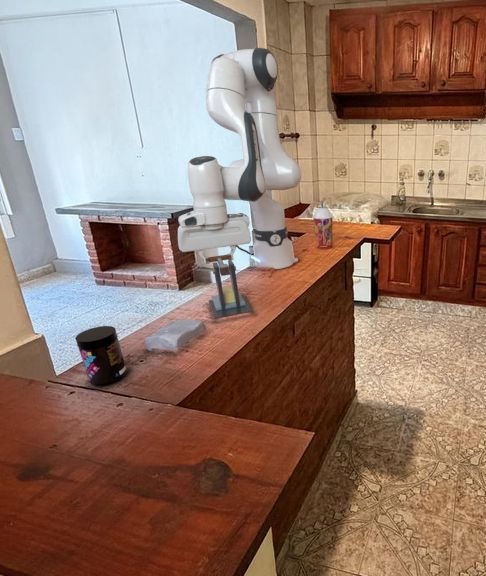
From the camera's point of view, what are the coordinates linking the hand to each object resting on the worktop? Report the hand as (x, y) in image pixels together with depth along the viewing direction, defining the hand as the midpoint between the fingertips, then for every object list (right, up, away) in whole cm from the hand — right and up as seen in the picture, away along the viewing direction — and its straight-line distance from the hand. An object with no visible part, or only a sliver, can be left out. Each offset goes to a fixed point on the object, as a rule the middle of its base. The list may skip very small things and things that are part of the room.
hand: (218, 261), depth 119 cm
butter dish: (+4, -12, -4) cm, 13 cm away
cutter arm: (+3, -2, -5) cm, 6 cm away
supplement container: (-9, -27, -37) cm, 47 cm away
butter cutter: (+6, -14, -6) cm, 16 cm away
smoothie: (+26, +10, +56) cm, 62 cm away
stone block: (-2, -21, -23) cm, 31 cm away
